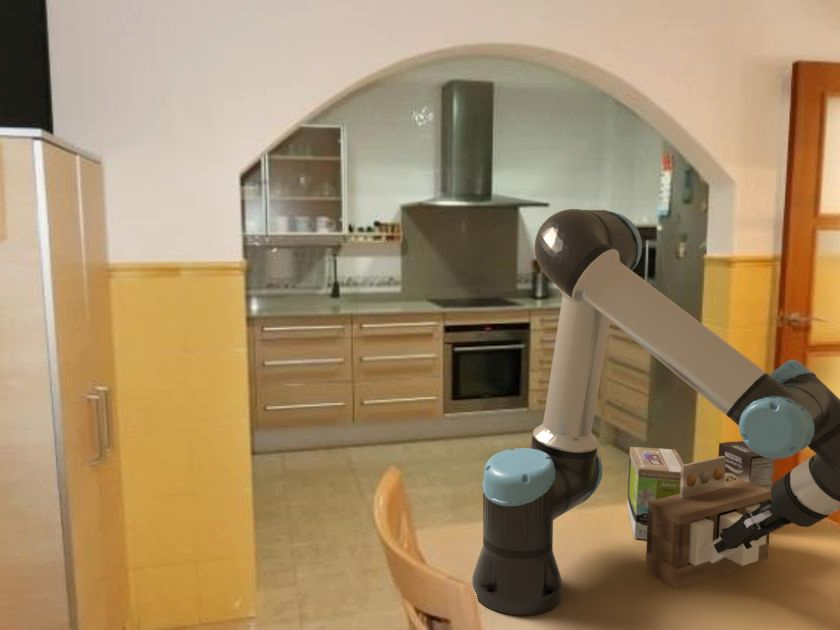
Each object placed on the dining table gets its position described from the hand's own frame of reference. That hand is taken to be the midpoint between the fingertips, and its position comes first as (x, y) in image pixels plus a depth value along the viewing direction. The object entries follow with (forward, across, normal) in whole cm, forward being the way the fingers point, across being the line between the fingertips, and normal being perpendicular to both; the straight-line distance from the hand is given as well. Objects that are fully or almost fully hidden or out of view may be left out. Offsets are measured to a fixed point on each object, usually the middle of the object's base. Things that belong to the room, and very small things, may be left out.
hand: (710, 554), depth 114 cm
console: (+8, +7, 0) cm, 11 cm away
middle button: (+1, +7, -1) cm, 7 cm away
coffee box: (+15, +28, +7) cm, 33 cm away
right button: (+4, +14, +1) cm, 14 cm away
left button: (+4, 0, +1) cm, 4 cm away
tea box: (+20, +11, +12) cm, 26 cm away
